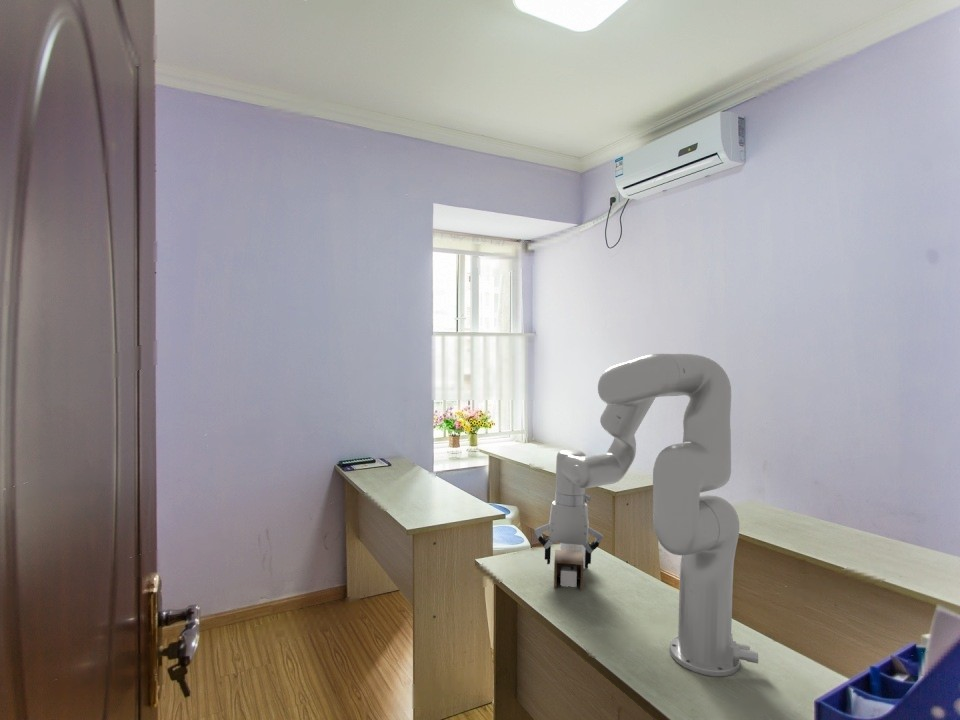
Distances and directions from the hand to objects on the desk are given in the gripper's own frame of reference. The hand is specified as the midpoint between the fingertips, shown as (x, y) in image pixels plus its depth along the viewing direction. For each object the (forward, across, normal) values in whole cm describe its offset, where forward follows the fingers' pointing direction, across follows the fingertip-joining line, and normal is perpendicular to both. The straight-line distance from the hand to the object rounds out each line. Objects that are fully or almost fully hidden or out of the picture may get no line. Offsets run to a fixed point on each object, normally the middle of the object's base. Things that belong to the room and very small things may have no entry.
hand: (567, 564), depth 137 cm
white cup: (+5, -2, -11) cm, 12 cm away
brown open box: (+5, 0, 0) cm, 5 cm away
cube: (+5, 0, 0) cm, 5 cm away
